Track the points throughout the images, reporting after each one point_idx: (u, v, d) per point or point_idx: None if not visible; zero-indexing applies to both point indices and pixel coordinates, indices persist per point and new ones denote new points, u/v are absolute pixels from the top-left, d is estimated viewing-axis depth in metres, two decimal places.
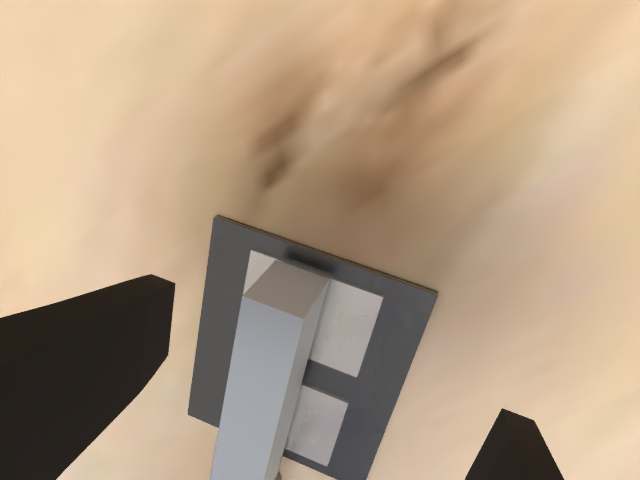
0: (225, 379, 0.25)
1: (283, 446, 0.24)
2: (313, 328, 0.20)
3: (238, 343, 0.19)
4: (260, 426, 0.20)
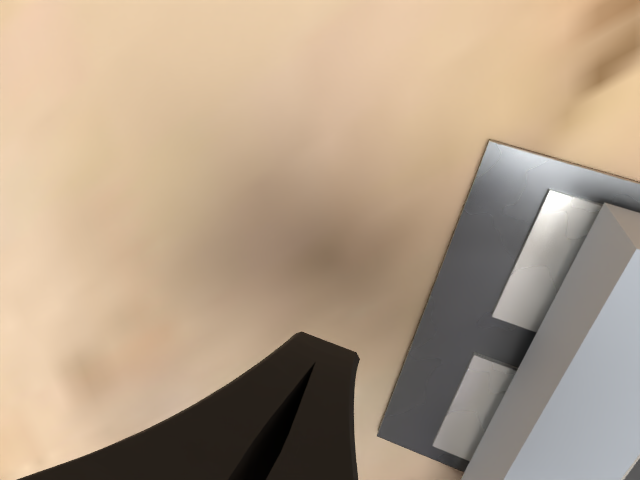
0: (451, 388, 0.17)
1: None
2: None
3: (598, 331, 0.11)
4: (594, 466, 0.12)
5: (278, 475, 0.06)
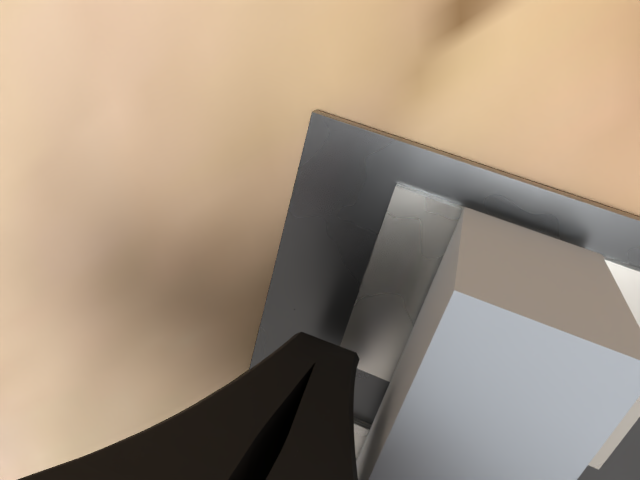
0: None
1: None
2: None
3: (411, 418, 0.07)
4: None
5: (278, 475, 0.06)
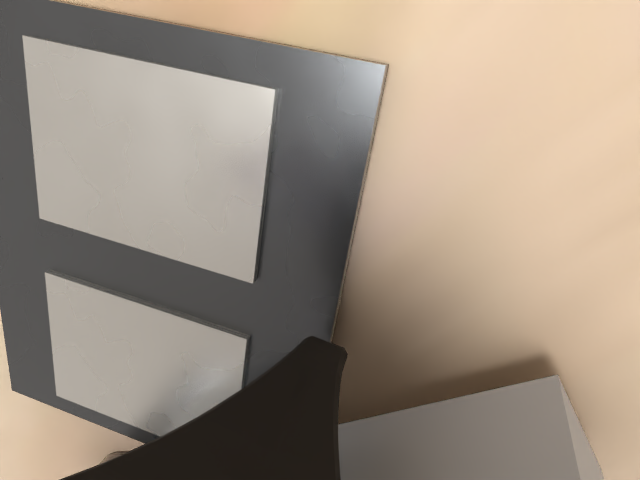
0: (49, 319, 0.14)
1: None
2: None
3: None
4: None
5: (259, 467, 0.06)
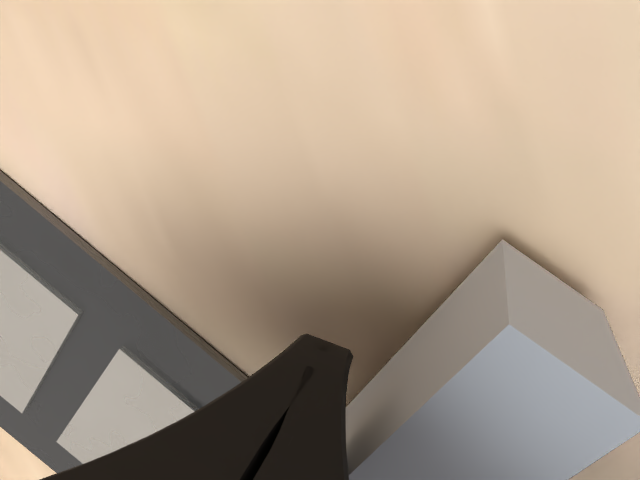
0: None
1: None
2: None
3: (429, 415, 0.08)
4: None
5: (268, 471, 0.06)
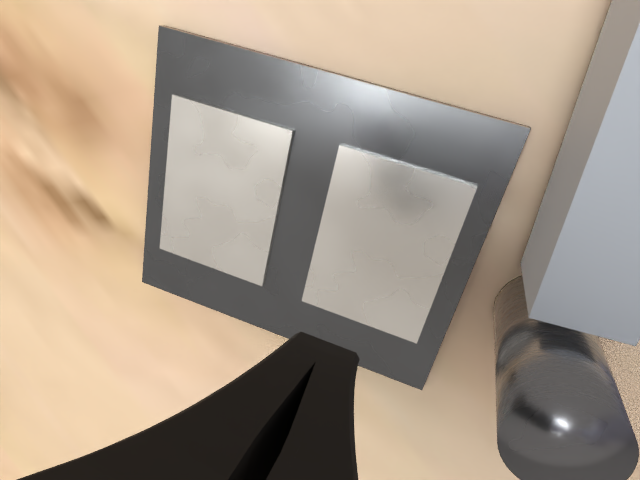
0: (346, 319, 0.18)
1: None
2: None
3: None
4: None
5: (278, 475, 0.06)
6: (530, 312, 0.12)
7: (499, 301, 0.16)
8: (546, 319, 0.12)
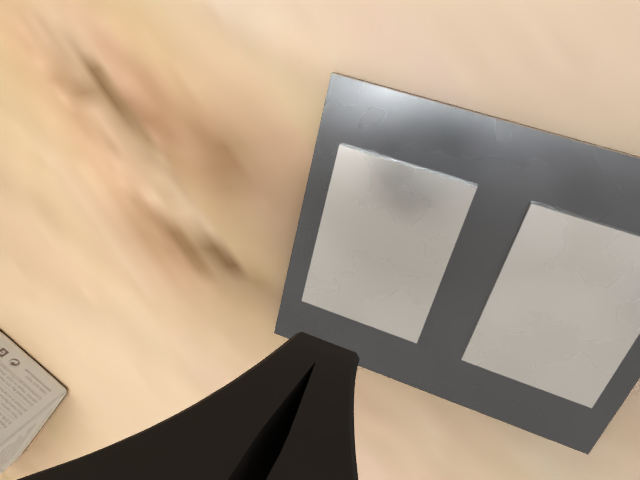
0: (509, 379, 0.17)
1: None
2: None
3: None
4: None
5: (278, 475, 0.06)
6: None
7: None
8: None
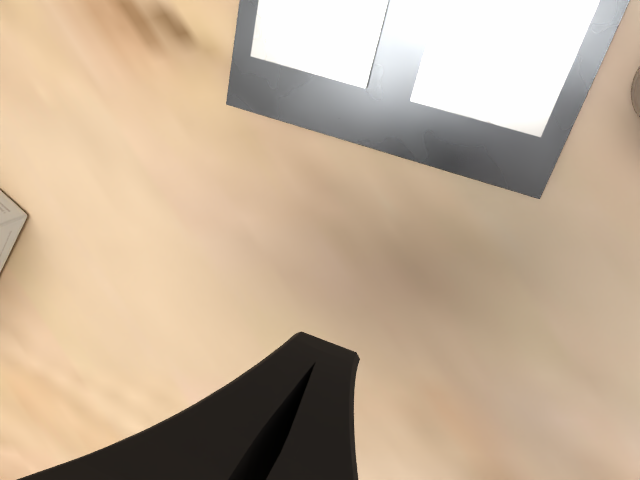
0: (459, 120, 0.17)
1: None
2: None
3: None
4: None
5: (278, 475, 0.06)
6: None
7: None
8: None
